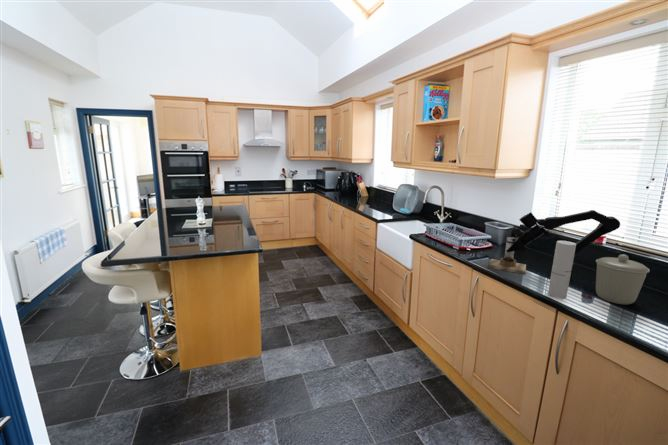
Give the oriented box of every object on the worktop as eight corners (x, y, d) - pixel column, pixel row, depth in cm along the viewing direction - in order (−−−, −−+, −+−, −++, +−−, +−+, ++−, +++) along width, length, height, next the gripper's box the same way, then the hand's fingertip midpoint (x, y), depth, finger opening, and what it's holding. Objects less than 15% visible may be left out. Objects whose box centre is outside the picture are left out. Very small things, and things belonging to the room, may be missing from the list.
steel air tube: (510, 260, 188) (514, 237, 185) (514, 263, 184) (517, 239, 181) (502, 260, 189) (505, 236, 186) (505, 263, 184) (508, 238, 181)
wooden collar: (515, 264, 188) (516, 259, 187) (515, 268, 181) (516, 263, 180) (500, 261, 192) (501, 256, 191) (499, 265, 185) (500, 260, 184)
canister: (589, 288, 160) (598, 246, 155) (639, 299, 149) (650, 254, 144) (588, 300, 146) (597, 255, 142) (643, 313, 135) (654, 264, 130)
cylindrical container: (570, 298, 147) (580, 245, 142) (554, 298, 147) (563, 244, 142) (559, 292, 154) (569, 240, 149) (544, 291, 154) (553, 240, 149)
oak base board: (525, 266, 188) (526, 264, 188) (525, 274, 176) (525, 271, 176) (491, 261, 197) (491, 258, 197) (488, 267, 185) (489, 265, 185)
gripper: (522, 219, 187) (498, 235, 195) (521, 225, 171) (495, 242, 179) (536, 235, 185) (511, 250, 193) (536, 242, 169) (510, 259, 177)
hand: (507, 250), depth 185 cm, fingers closed on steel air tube, 4 cm apart
